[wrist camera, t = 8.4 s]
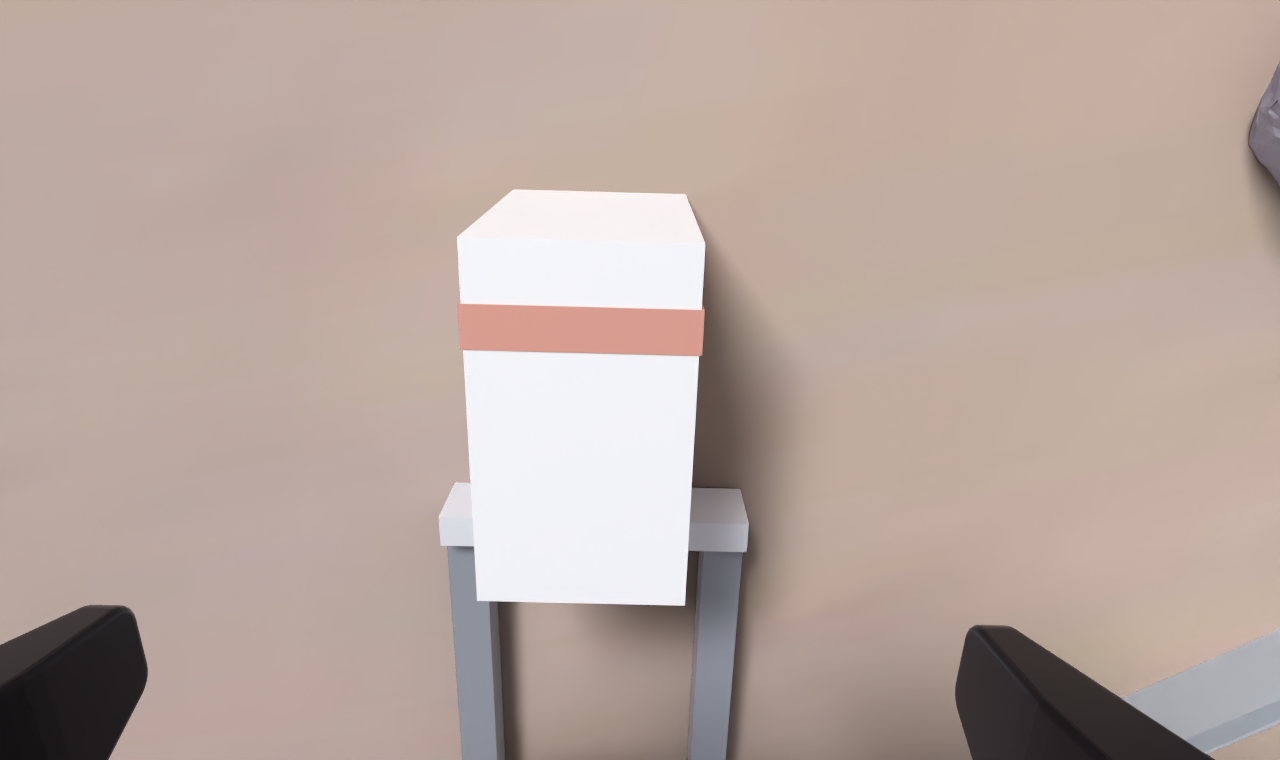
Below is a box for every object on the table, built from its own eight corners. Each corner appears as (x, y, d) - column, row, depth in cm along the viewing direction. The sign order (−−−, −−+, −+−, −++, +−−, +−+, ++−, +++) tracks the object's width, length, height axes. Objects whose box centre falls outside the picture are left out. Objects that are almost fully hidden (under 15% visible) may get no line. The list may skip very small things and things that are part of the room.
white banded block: (674, 464, 21) (687, 606, 15) (519, 459, 21) (474, 601, 15) (687, 194, 18) (708, 244, 13) (511, 189, 18) (453, 237, 13)
